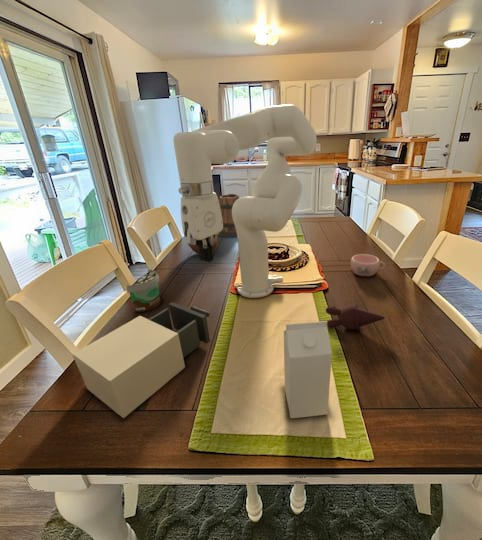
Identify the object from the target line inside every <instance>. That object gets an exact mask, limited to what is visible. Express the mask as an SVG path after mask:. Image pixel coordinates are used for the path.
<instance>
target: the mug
mask: <svg viewBox="0 0 482 540" xmlns="http://www.w3.org/2000/svg"><path fill="white" fill-rule="evenodd" d="M381 264H382V267H380V265H381ZM350 268H351V271H352V272H353V273H354V274H355V275H357V276H359V277H372V276H374V275H376V274H377V272H378V271H382V270H384V269H385V268H386V263H385V261H381V260H380V258H378V257H377V256H376V255H373V254H369V253H357V254H356V255H353V256H352V257H351V260H350Z"/></svg>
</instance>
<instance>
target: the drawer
mask: <svg viewBox="0 0 482 540" xmlns="http://www.w3.org/2000/svg"><path fill="white" fill-rule="evenodd" d="M168 307H169V308H165V309H163V310H161V311H160V312H158V313H156V314H154V315H153V316H151V317H150V318H147V319H148V320H150V321H152V322H155V323H157V324H159V325H161V326H163V327H165V328H167V329H169V330H171V331H174V332H176V333H178V336H179V340H180V345H181V350H182V354H183V359H185V357H187V356H188V355H190V354H191V353H192V352H193V351H194V350H196V349H197V348H198V347H199V346H201V342H202V343H204V344H208V343H210V342H211V338H210V332H209V325H208V320H207V319H208V318H209V317H210V312H209V311H207V310H204V309H202V308H199V307H196V306H193V305H191V307H190V308H188V307H186V306H182V305H181V304H179V303H175V302H173V301H172V302H170V303H168Z"/></svg>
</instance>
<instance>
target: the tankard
mask: <svg viewBox="0 0 482 540" xmlns="http://www.w3.org/2000/svg"><path fill="white" fill-rule="evenodd" d="M239 198H240V195H239V194H236V193H227V194H222V195H220V196H219V199H218V200H219V204H220V209H221V214H222V220H223V229H222V231H220V233H219V234H218V235H217V236H220V237H223V238H236V237H237V232H236V228H235V225H234V221H233V217H232V207H233V204H234V202H235V201H236V200H237V199H239Z"/></svg>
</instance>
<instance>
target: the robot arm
mask: <svg viewBox="0 0 482 540" xmlns="http://www.w3.org/2000/svg"><path fill="white" fill-rule="evenodd" d="M317 138H318V137H317V134H316V131H315V129H314V127H313V126H312V124H311V122H310V121H309V119H308V118H307V117H306V115H305V114H304V112H303V111H302V110H301V109H300V108H299V107H298V106H296V105H294V104H291V103H290V104H289V103H288V104H279V105H270V106H269V105H268V106H264V107H262V108H259V109H256V110H254V111H252V112H249V113H246V114H243V115H240V116H236V117H232V118H230V119H226V120H223V121H219V122H216V123H213V124H208V125H205V126H203V127H199V128H197V129H195V130H192V131H183V132H176V133H175V134H174V135H173V138H172V141H173V148H174V155H175V161H176V166H177V173H178V179H179V185H180V187H179V188H178V189H177V191H178V193H179V194H180V195H181V197H180V219H181V220H180V221H181V226H182V232H183V236H184V237H185V238H186V244H187V245H188V244H189V245H196V246H197V247H199V251H200V255H199V257H200V260H201V262H207V263H211V262H212V261H214V260H215V259H214V251H213V250H212V245H213V244H214V238H215V236H217V237H218V236H219V235H218V234H219V233H220V231H222V229H223V220H222V214H221V209H220V204H219V200H220V199H219V197H218V195H217V193H216V192H215V189H214V181H213V173H212V164H213V165H225V164H229V163H231V162H233V161H234V160H235V159H236V158H237V157H238V155H239V152H240V151H246V150H251V149H254V148H256V147H258V146H260V145H262V144H264V143H265V142H266V149H267V165H266V166H265V168H263V169H264V170H262V172H261V173H260V175H259V176H258V177H257V179H256V180H255V182H254V183H253V186H252V188H251V196H250V195H248V196H241V197H239V199H237V200H236V201H235V202H234V204H233V207H232V217H233V221H234V225H235V228H236V232H237V247H238V258H239V259H238V260H239V271H240V283H242V287H238V286H237V288H236V289H237V293H238V294H239V295H241V296H243V297H245V298H250V299H259V298H263V297H266V296H268V295H269V296H270V294H272V293H273V292H274V289H275V284H279V283H284V279H283V276H278V275H277V274H273V275H271V274H270V270H269V269H270V267H269V244H268V243H269V242H268V237H267V235H266V233H265V231H266V232H273V233H276V232H277V233H278V232H279V231H282V230H283V229H284V228H285V226H286V225H287V223H288V222H289V220H290V219H291V217H292V215H293V214H294V212H295V210H296V209H297V207H298V205H299V203H300V200H301V198H302V195H303V194H302V192H303V185H302V181H301V180H300V178H298V177H297V176H295V175H293V174H292V170H291V167H290V165H289V163H288V161H287V159H286V157H290V156H292V157H296V156H297V157H298V156H299V157H301V156H302V157H303V156H309V155H312V154H313V153H314V151H315V150H316V148H317V143H318V139H317ZM189 245H188V246H189ZM272 285H274V286H272Z"/></svg>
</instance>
